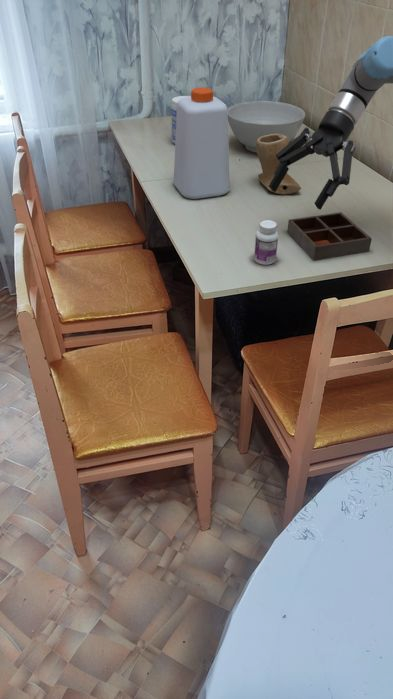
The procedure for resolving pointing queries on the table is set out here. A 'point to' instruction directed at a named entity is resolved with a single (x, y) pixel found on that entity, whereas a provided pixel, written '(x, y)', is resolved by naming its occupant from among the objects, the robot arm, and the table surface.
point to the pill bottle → (266, 243)
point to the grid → (328, 235)
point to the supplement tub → (175, 115)
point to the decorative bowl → (264, 120)
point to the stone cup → (274, 162)
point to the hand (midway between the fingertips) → (293, 197)
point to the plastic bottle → (201, 146)
